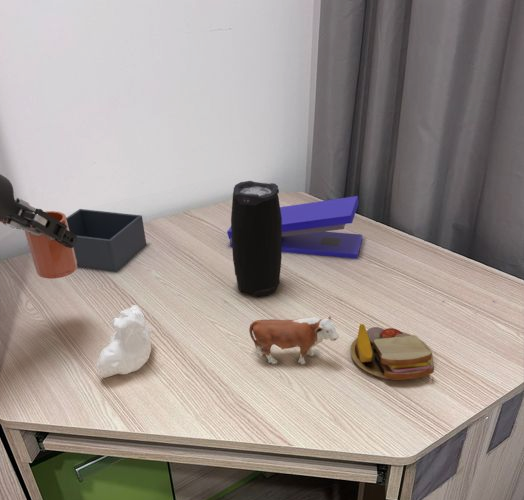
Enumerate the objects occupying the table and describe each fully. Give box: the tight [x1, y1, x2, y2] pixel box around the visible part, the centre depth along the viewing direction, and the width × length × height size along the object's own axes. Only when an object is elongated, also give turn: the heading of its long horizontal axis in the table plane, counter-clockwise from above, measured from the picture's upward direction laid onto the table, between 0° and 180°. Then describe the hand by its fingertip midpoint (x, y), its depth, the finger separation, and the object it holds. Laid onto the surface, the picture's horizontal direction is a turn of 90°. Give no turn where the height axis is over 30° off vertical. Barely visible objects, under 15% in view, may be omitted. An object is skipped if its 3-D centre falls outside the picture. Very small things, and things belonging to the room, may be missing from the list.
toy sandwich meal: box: [349, 323, 435, 381], centre depth 82 cm, size 12×14×5 cm
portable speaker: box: [230, 180, 283, 298], centre depth 97 cm, size 9×9×20 cm
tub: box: [66, 208, 147, 273], centre depth 113 cm, size 15×13×7 cm
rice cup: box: [23, 210, 79, 280], centre depth 84 cm, size 6×6×8 cm
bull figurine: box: [248, 315, 340, 365], centre depth 82 cm, size 4×13×8 cm, turn 81°
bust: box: [96, 304, 153, 378], centre depth 81 cm, size 12×8×11 cm
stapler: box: [226, 195, 363, 260], centre depth 115 cm, size 12×28×10 cm, turn 76°
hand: (57, 237), depth 85 cm, fingers closed on rice cup, 6 cm apart
